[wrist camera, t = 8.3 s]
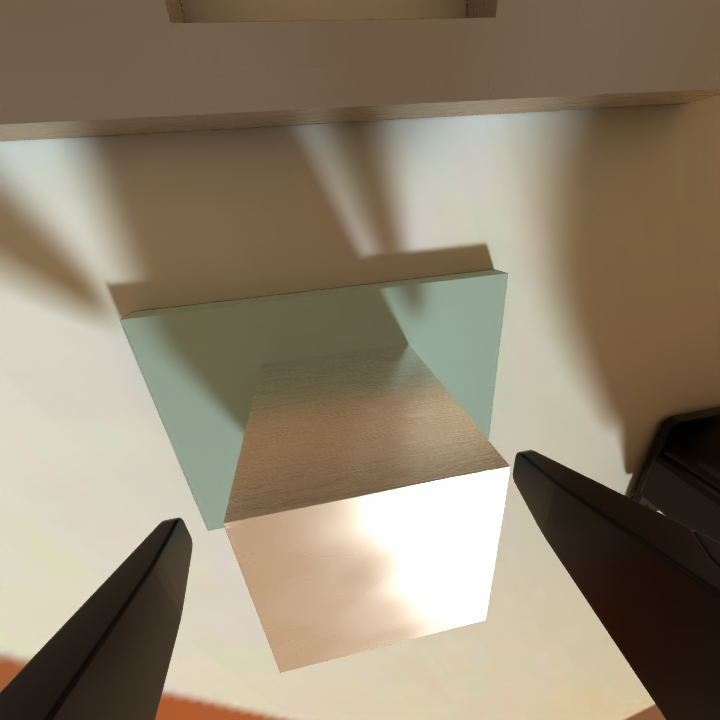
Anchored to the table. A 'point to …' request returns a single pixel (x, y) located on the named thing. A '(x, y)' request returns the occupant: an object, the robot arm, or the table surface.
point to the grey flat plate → (341, 64)
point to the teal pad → (304, 340)
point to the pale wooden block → (362, 505)
